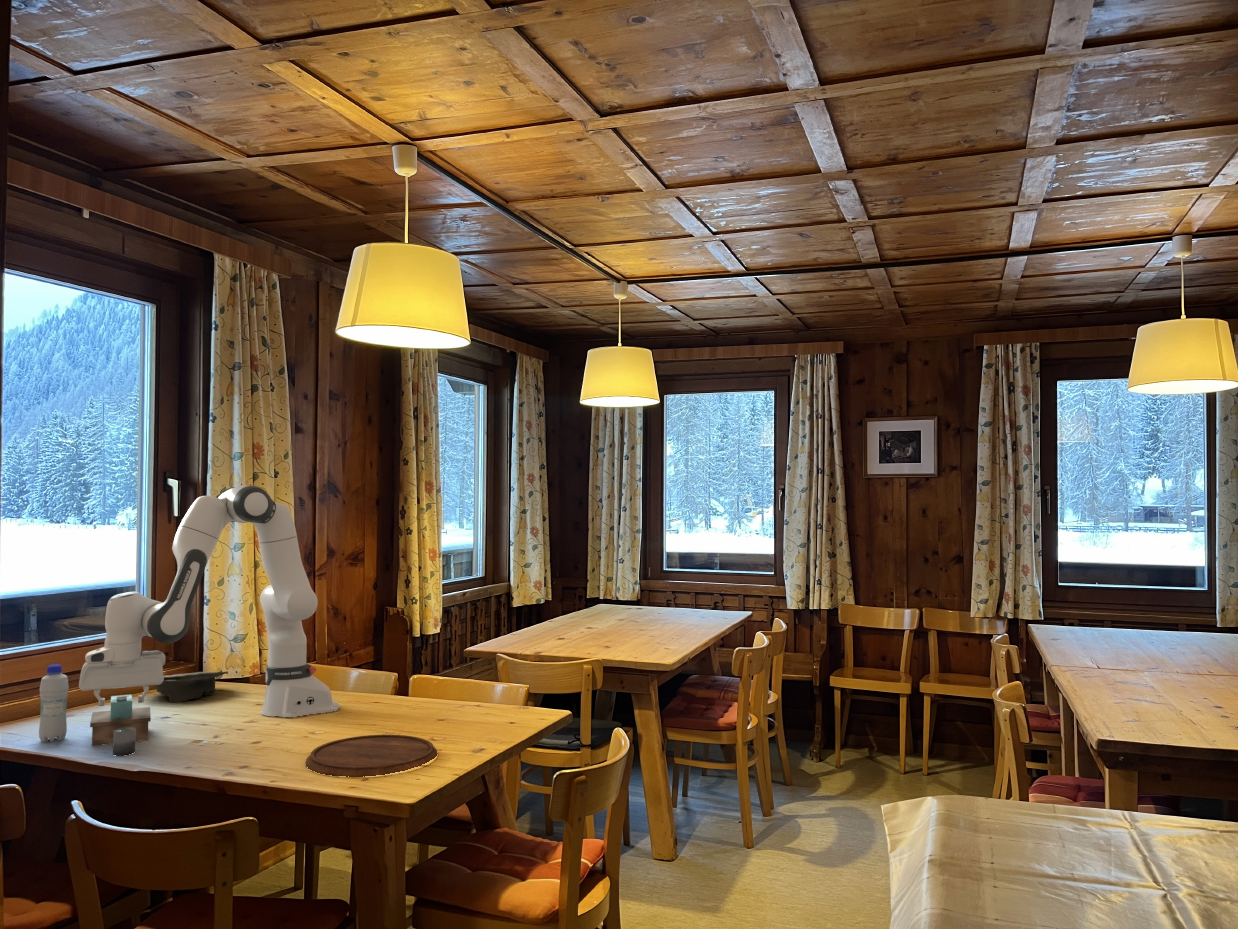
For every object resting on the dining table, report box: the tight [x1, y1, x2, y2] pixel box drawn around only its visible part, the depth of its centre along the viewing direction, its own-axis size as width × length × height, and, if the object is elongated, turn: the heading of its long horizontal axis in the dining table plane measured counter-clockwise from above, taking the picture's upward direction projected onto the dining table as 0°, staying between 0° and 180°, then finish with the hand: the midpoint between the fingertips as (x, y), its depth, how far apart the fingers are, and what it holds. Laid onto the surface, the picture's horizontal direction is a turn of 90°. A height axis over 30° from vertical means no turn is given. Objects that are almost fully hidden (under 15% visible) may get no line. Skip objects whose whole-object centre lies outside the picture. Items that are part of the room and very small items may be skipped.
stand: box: [89, 706, 152, 747], centre depth 245 cm, size 14×14×6 cm
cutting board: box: [304, 734, 439, 777], centre depth 227 cm, size 32×32×2 cm
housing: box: [110, 693, 133, 720], centre depth 245 cm, size 5×9×5 cm, turn 29°
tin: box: [112, 727, 137, 757], centre depth 230 cm, size 5×5×6 cm
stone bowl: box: [155, 671, 229, 703], centre depth 297 cm, size 25×25×9 cm
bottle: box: [38, 664, 70, 743], centre depth 243 cm, size 7×7×20 cm
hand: (121, 704), depth 246 cm, fingers open, 8 cm apart
